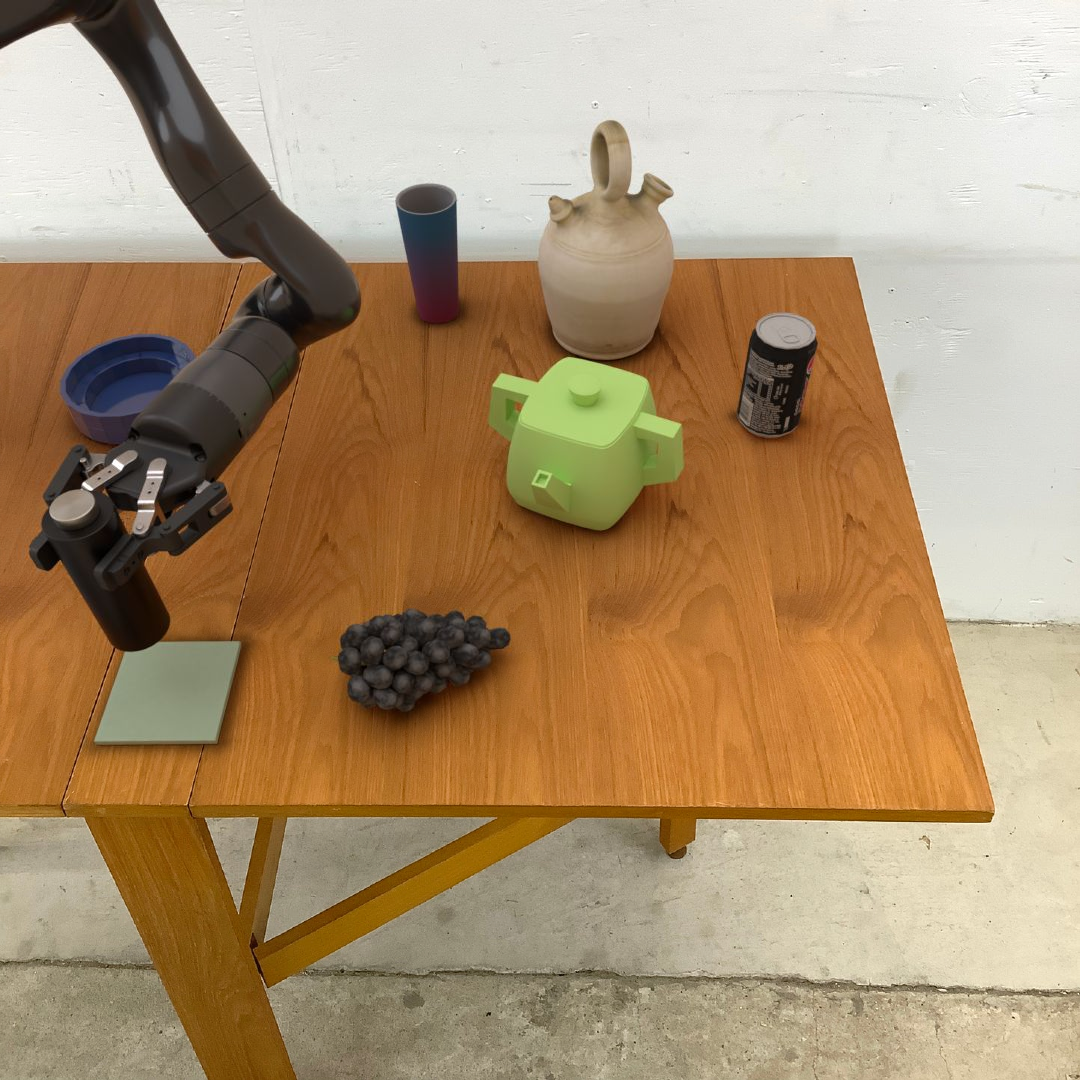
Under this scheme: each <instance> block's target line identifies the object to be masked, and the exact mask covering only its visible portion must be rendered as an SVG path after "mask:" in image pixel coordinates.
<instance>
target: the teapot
mask: <svg viewBox="0 0 1080 1080" xmlns="http://www.w3.org/2000/svg"><path fill="white" fill-rule="evenodd" d="M515 402H516V403H519V404H522V405H523V406H522V408H521V409H520V412H519V411H518V410H516V409H515V407H516V406H515V405H516V404H515ZM488 411H489V412H488V420H487V423H488V424H487V425H488V426H489V427H491V428H492V429H493V430H494V431H496V432H497V433H499V435H501V436H502V437H504V438H505V439H506V440H507V441H509V442H510V445H509V449H508V454H507V455H508V456H507V462H506V463H507V465H506V486H507V487H506V488H507V489H508V492H509V494H510V496H511V497H512V499H513V500H514V501H515V502H516V503H517V505H519V506H521V507H522V508H525V509H527V510H530V511H532V512H535V513H537V514H541V515H543V516H545V517H547V518H551V519H554V520H558V521H561V522H563V523H567V524H570V525H575V526H578V527H581V528H584V529H585V528H586V529H589V530H594V531H605V530H608V529H610V528H611V527H613V526H614V525H615V524H616V523H618V521H619V520H620V519H621V518H622V517H623V516H624V514H625V513H626V512H627V511H628V510H629V508H630V507H631V506H632V504H634V502H635V500H636V499H637V498H638V496H639V495H640V493H641V491H642V490H643V489H644V486H652V485H658V484H665V483H666V484H667V483H671V482H676V481H677V480H678V478H679V477H680V475H681V473H682V472H683V470H684V468H685V459H684V442H683V441H684V440H683V425H682V423H680V422H676V421H673V420H670V419H667V418H663V417H660V416H658V413H657V408H656V404H655V400H654V396H653V392H652V389H651V385H650V383H649V380H648V379H647V378H646V377H644V376H642V375H639V374H636V373H635V372H630V371H628V370H625V369H621V368H617V367H613V366H610V365H608V364H607V365H606V364H604V363H599V362H594V361H590V360H587V359H582V358H577V357H571V356H567V357H565V358H561V359H560V360H559V361H557V362H556V363H555V364H554V365H552V366H551V367H550V368H549V369H548V370H547V371H546V373H545V374H544V375H543V376H542V377H541V378H540V379H539V381H538V382H537V381H534V380H530V379H527V378H523V377H518V376H515V375H511V374H507V373H503V372H500V373H499V376H498V377H497V378H496V379H495V381H494V382H493V384H492V385H491V391H490V402H489V409H488Z"/></svg>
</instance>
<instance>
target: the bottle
mask: <svg viewBox="0 0 1080 1080" xmlns="http://www.w3.org/2000/svg"><path fill="white" fill-rule="evenodd" d="M40 525H41V526H40V527H41V531H42V530H43V532H44V534H45V535H46V537H47V539H48V540H49V542H50V544H51V545H52V547H53V549H54V550H55V552H56V554H57V555H58V557H59V559H60V562H61V563H62V566H63V567H64V568H65V570H66V573H68V575H69V577H70V579H71V580H72V582H73V584H74V585H75V587H76V588H77V591H78V592H79V594H80V595H81V597H82V599H83V601H84V603H86V606H87V607H88V608H89V610H90V612H91V613H92V615H93V617H94V619H95V620H96V622H97V624H98V625H99V627H100V628H101V630H102V632H103V634H104V635H105V637H106V638H107V641H108V642H109V644H110V645H111V646H112V647H113V648H115V650H119V651H121V652H124V653H125V652H137V651H141V650H145V649H147V648H149V647H151V646H153V645H155V644H156V643H158V642H161V640H162V639H163V638H164V637H165V636H166V634H167V633H168V631H169V629H170V626H171V615H170V613H169V611H168V608H167V607H166V604H165V602H164V601H163V599H162V596H161V595H160V592H159V590H158V588H157V586H156V585H155V583H154V581H153V579H152V576H151V575H150V573H149V571H148V569H147V567H146V565H145V563H144V562H143V563H142V564H141V565H140V566H139V568H138V569H137V570H136V571H135V573H134V574H132V576H131V577H130V579H129V580H128V581H127V582H126V583H124V584H123V585H121V586H120V585H118V587H117V588H116V589H115V590H114V591H109V590H106V589H103V588H101V586H100V585H99V583H98V581H97V579H96V578H95V576H94V569H95V567H96V566H97V565H98V563H99V562H100V561H101V560H102V559H103V558H104V556H105V555H106V554H107V553H108V552H109V551H110V549H111V548H112V547H113V546H114V545H115V544H116V543H117V541H118V540H119V539H120V538H121V537H122V535H123V534H124V533H126V534H130V533H129V531H128V529H127V528H126V526H125V523H124V521H123V519H122V518H121V516H120V514H118V512H117V510H116V508H115V506H114V504H113V502H112V500H111V499H110V498H109V496H108V494H107V493H104V492H103V493H102V492H99V491H92V490H72V491H68V492H66V493H63V494H62V495H60V496H58V497H57V498H56V499H55V500H54V501H53V502H52V504H51V506H50V507H49V508H48V507H47V509H46V510H45V511H44V513H43V515H42V518H41V523H40Z"/></svg>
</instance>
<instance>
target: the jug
mask: <svg viewBox="0 0 1080 1080" xmlns="http://www.w3.org/2000/svg"><path fill="white" fill-rule="evenodd" d="M589 152H590V153H589V154H590V155H589V156H590V157H589V159H590V163H589V164H590V172H591V177H592V181H593V188H592V189H591V191H588V192H585V193H582V194H580V195H578V196H576V197H574V198H572V199H568V198H562V197H560V196H558V195H556V194H555V195H551V196H550V197H549V198H548V201H547V205H548V207H549V208H548V209H549V217H550V218H549V220H548V222H547V223H546V225H545V228H544V230H543V233H542V235H541V238H540V242H539V246H538V253H537V268H538V269H537V270H538V275H539V280H540V285H541V289H542V295H543V299H544V304H545V308H546V311H547V316H548V319H549V322H550V325H551V327H552V329H551V330H552V334H553V336H554V338H555V340H556V341H557V343H558V344H559V345H560V346H561V347H562V348H563V349H564V350H566V351H567V352H569V353H571V354H573V355H576V356H578V357H581V358H586V359H589V360H595V361H612V360H619V359H622V358H627V357H629V356H633V355H635V354H637V353H638V352H640V351H642V350H643V349H644V348H645V347H647V346H648V344H649V343H650V342H651V341H652V339H653V337H654V335H655V331H656V329H657V327H658V324H659V321H660V317H661V315H662V311H663V310H662V309H663V306H664V302H665V300H666V298H667V295H668V292H669V288H670V286H671V282H672V277H673V273H674V268H675V249H674V241H673V239H672V234H671V232H670V228H669V227H668V225H667V222H666V220H665V219H664V217H663V216H662V214H661V213H660V211H659V207H660V205H662V204H663V203H664V202H666V201H667V199H670V198H672V197H674V195H675V191H674V190H673V188H672V187H671V186H670V185H669V184H667V183H666V182H665V181H663V179H661V178H660V177H657V176H656V175H654V174H651V173H649V172H646V173H644V175H643V181H642V184H641V187H640V190H639V192H637V193H629V192H628V191H629V190H630V189H629V188H630V186H631V181H632V172H633V166H632V165H633V163H632V162H633V160H632V158H633V157H632V148H631V143H630V139H629V136H628V133H627V131H626V129H625V127H624V126H623V125H622V123H620V122H619V121H617V120H615V119H607V120H604V121H602V122H600V123H599V124H597V126H596V127H595V129H594V131H593V132H592V136H591V140H590V150H589Z"/></svg>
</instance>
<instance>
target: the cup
mask: <svg viewBox="0 0 1080 1080" xmlns="http://www.w3.org/2000/svg"><path fill="white" fill-rule="evenodd" d="M457 203H458V202H457V194H456V192H455V191H454V190H453V188H451V187H449V186H447V185H444V184H439V183H433V182H432V183H431V182H427V183H418V184H414V185H410V186H408V187H406V188H404V189H402V190H401V191H400V192H399V193H398V194H397V195H396V197H395V207H396V212H397V217H398V222H399V226H400V232H401V236H402V241H403V246H404V247H403V248H404V251H405V256H406V261H407V265H408V271H409V275H410V280H411V285H412V290H413V295H414V300H415V304H416V310H417V314H418V317H419V318H420V319H421V320H422V321H424V322H426V323H429V324H435V325H436V324H445V323H448V322H451V321H453V320H454V319H455V318H456V317H458V315H459V314H460V313H459V312H460V296H459V295H460V293H459V247H458V245H459V244H458V210H457V209H458V206H457V205H458V204H457Z"/></svg>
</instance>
